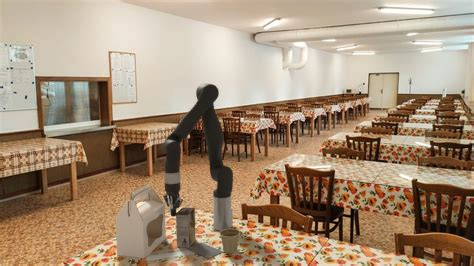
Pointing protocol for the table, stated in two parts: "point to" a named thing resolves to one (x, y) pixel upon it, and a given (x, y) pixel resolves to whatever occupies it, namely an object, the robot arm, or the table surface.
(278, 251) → the table surface
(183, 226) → the coffee box
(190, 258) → the table surface
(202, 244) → the grey flat slab
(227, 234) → the flower pot
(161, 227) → the gable box
